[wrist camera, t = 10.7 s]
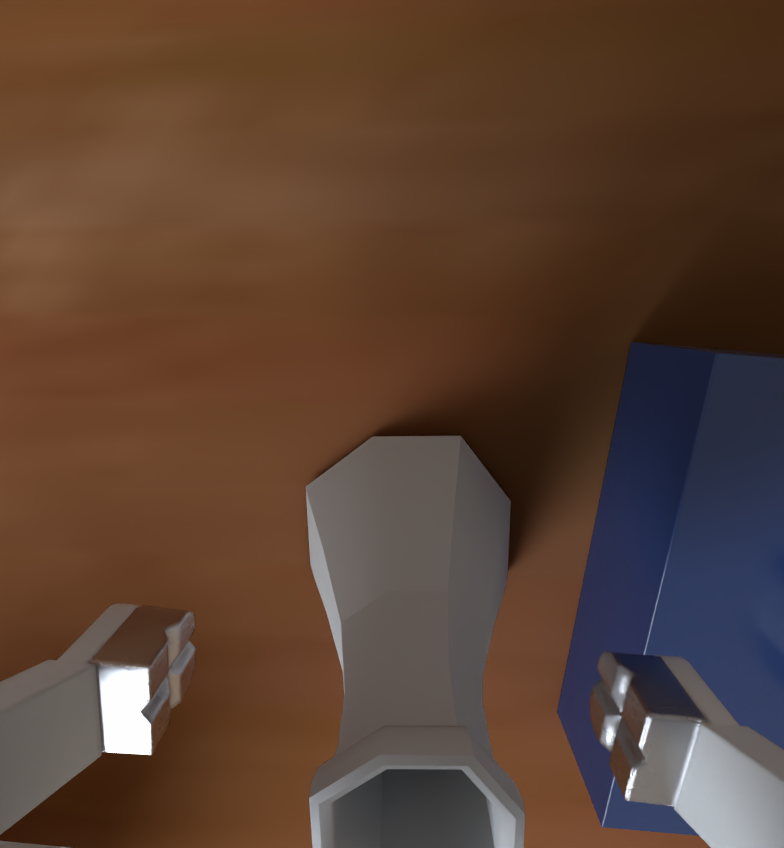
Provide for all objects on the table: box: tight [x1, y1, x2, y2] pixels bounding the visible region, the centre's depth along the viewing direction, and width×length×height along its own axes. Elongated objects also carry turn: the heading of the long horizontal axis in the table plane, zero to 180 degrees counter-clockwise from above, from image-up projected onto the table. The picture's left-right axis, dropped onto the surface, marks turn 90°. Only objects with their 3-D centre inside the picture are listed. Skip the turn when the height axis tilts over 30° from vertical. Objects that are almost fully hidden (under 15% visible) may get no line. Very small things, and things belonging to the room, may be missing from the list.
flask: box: [306, 436, 525, 848], centre depth 12 cm, size 7×7×10 cm
